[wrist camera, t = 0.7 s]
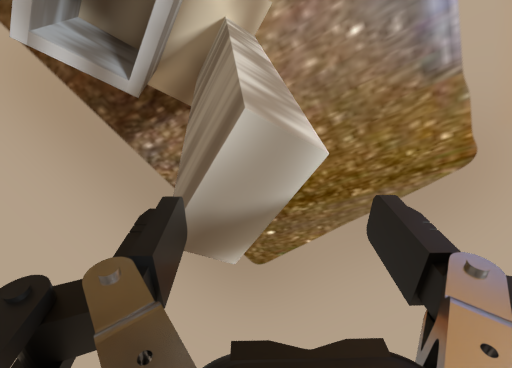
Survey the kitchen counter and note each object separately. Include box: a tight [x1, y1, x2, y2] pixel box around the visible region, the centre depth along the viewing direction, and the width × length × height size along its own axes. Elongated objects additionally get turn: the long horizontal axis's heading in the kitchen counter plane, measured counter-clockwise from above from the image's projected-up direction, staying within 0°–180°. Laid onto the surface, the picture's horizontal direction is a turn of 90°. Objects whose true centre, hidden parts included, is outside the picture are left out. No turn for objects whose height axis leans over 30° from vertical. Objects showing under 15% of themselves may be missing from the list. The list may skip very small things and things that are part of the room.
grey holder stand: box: [10, 0, 329, 264], centre depth 20 cm, size 20×16×30 cm
